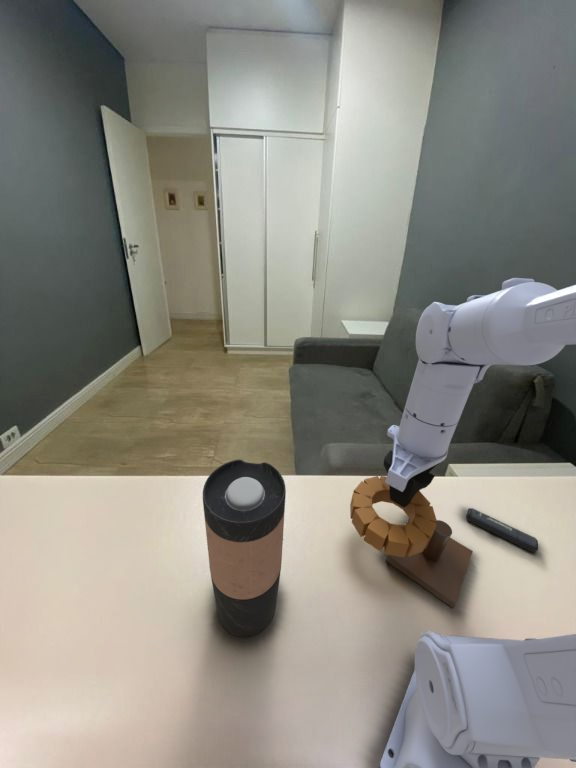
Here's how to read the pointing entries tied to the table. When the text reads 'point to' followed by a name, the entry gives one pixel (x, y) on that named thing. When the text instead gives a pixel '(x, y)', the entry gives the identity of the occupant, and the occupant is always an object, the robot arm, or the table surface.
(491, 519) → the usb stick
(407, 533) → the notched ring
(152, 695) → the table surface
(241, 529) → the travel mug
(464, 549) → the post stand
